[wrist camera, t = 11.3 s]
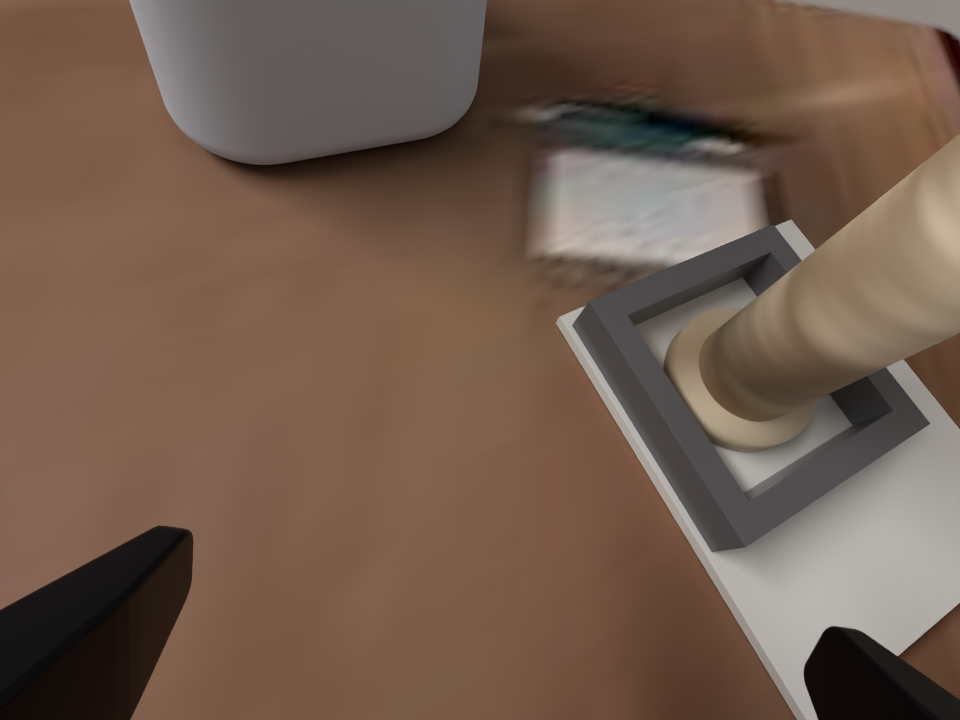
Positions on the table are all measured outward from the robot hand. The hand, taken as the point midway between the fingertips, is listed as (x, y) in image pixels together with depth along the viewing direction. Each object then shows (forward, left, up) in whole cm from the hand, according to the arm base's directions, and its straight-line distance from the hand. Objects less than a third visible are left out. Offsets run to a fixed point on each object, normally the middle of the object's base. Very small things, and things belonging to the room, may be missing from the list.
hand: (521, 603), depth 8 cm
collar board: (-1, -18, -14) cm, 22 cm away
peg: (+2, -16, -13) cm, 21 cm away
